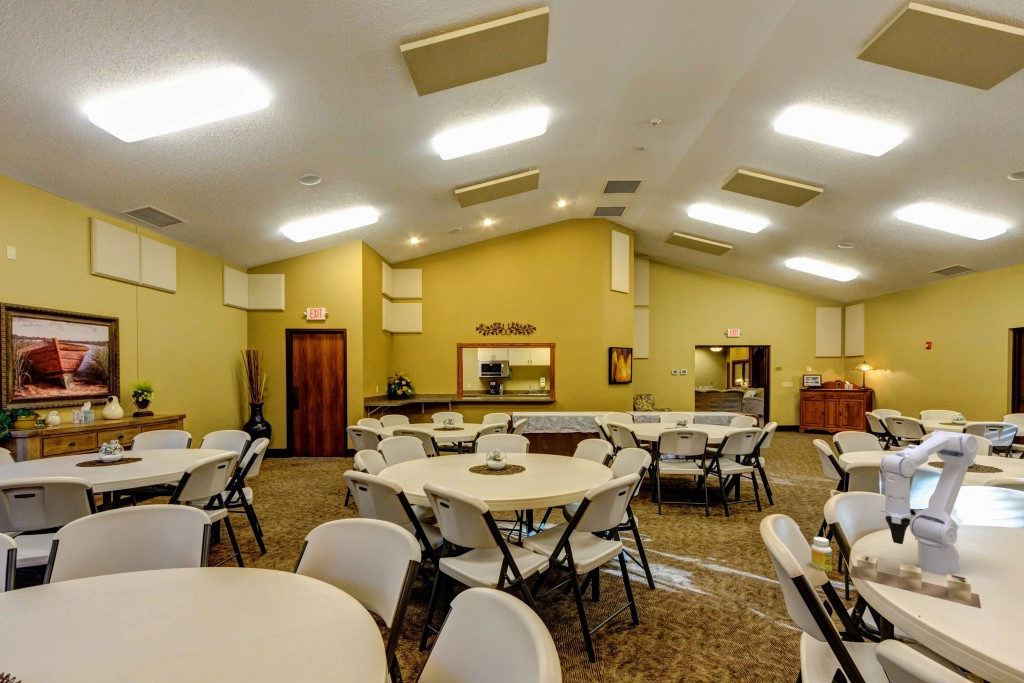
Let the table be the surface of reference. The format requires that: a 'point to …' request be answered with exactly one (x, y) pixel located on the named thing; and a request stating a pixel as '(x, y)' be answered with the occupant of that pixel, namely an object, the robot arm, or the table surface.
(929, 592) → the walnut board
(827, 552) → the supplement bottle
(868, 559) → the block one
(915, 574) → the plain block
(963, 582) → the block seven
